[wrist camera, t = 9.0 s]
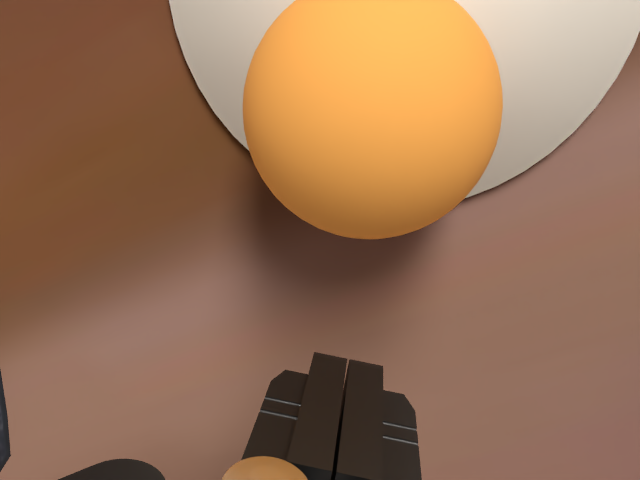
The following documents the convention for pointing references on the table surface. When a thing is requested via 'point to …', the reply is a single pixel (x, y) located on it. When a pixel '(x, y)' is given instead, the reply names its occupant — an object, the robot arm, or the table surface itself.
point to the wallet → (3, 429)
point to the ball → (372, 112)
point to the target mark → (504, 39)
